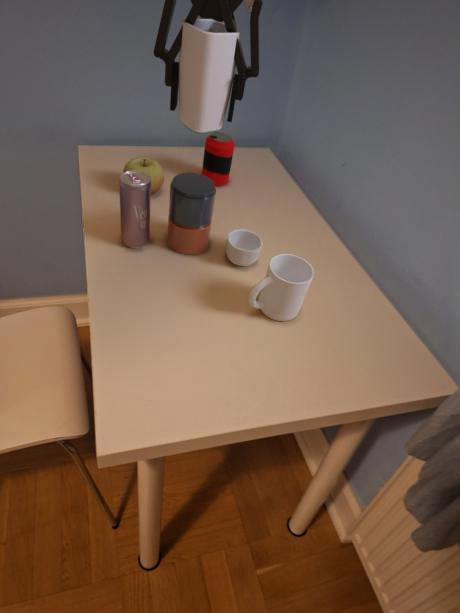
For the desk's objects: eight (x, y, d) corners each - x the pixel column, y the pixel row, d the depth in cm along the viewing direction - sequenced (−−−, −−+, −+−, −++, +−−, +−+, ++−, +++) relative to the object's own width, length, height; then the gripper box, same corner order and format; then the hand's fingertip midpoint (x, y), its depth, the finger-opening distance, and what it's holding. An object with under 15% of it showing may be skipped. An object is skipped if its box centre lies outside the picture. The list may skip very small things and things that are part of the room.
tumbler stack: (163, 250, 87) (166, 190, 77) (171, 226, 94) (174, 168, 84) (205, 257, 88) (214, 199, 78) (210, 233, 94) (218, 176, 84)
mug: (254, 332, 75) (266, 292, 68) (234, 301, 80) (243, 261, 72) (306, 316, 80) (322, 278, 73) (284, 289, 85) (297, 250, 77)
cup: (170, 121, 69) (176, 18, 59) (204, 116, 73) (215, 18, 63) (195, 140, 66) (206, 33, 55) (229, 133, 70) (245, 33, 59)
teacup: (261, 271, 87) (266, 251, 84) (226, 271, 86) (230, 251, 82) (251, 243, 94) (256, 223, 90) (219, 242, 92) (223, 222, 89)
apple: (156, 178, 107) (157, 149, 102) (168, 198, 102) (170, 168, 96) (119, 181, 104) (118, 151, 98) (129, 202, 98) (128, 171, 92)
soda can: (197, 173, 113) (201, 130, 104) (221, 171, 116) (228, 130, 107) (207, 187, 108) (213, 144, 100) (232, 185, 111) (240, 143, 103)
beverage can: (142, 230, 91) (142, 168, 80) (154, 245, 88) (156, 182, 77) (116, 236, 88) (113, 172, 77) (128, 252, 85) (127, 188, 74)
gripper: (129, -86, 49) (132, 108, 65) (304, -47, 50) (264, 134, 66) (144, -87, 54) (142, 93, 70) (301, -52, 55) (265, 117, 71)
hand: (201, 113), depth 68 cm, fingers closed on cup, 9 cm apart
